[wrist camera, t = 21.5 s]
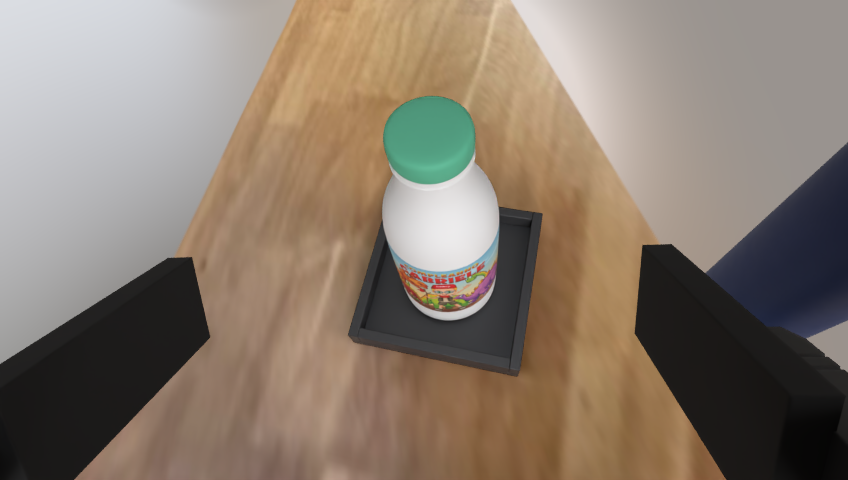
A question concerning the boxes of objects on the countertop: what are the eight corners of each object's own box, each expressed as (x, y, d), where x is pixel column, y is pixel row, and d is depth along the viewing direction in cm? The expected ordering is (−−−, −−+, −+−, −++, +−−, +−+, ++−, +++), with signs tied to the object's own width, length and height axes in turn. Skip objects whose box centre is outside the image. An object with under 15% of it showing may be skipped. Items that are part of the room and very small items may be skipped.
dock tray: (539, 225, 44) (542, 213, 42) (517, 376, 39) (519, 371, 37) (394, 203, 47) (390, 190, 45) (354, 342, 41) (347, 335, 39)
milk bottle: (396, 251, 44) (338, 91, 26) (480, 228, 44) (480, 53, 26) (416, 333, 40) (366, 214, 22) (507, 308, 40) (530, 171, 22)
